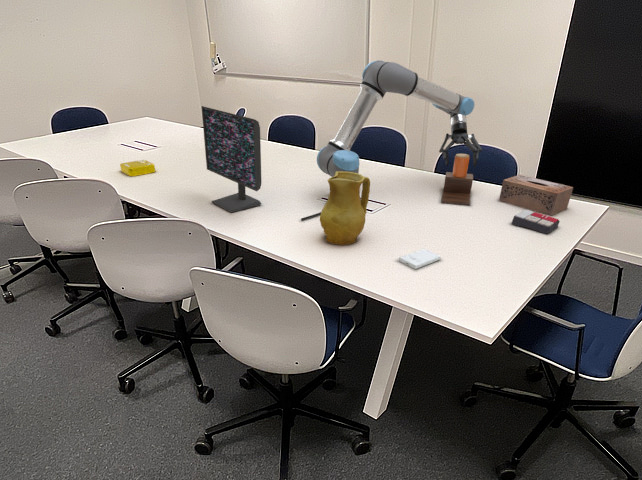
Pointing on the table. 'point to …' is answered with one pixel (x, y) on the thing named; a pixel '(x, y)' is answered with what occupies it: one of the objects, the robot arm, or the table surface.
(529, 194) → the tissue box cover
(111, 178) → the table surface
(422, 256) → the hard drive
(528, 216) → the grey and red box
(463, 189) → the brown wooden step stand
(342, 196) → the pitcher
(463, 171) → the canister
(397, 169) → the table surface
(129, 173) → the element tile
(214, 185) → the table surface
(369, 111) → the robot arm
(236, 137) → the computer monitor
